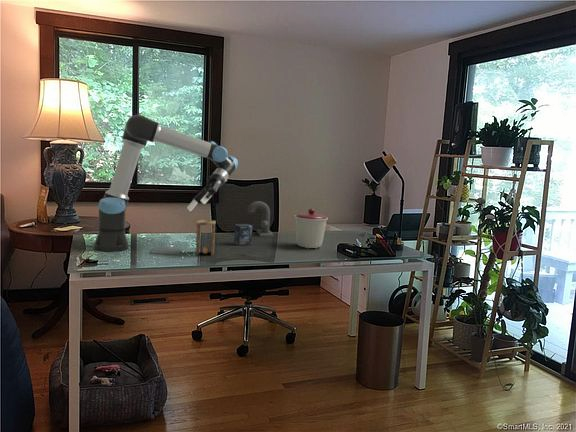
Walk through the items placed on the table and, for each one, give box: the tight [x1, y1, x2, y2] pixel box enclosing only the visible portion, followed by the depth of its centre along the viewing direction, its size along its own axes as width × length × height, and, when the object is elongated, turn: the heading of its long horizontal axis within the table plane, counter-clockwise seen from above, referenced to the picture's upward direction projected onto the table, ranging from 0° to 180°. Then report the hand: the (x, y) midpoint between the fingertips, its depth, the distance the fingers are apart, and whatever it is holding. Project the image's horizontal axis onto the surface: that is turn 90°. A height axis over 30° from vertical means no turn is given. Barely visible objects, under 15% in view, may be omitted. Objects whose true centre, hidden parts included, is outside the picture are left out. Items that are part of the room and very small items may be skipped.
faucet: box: [247, 200, 275, 238], centre depth 297 cm, size 18×16×20 cm
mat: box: [150, 246, 183, 256], centre depth 236 cm, size 13×13×1 cm
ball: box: [201, 246, 210, 255], centre depth 236 cm, size 4×4×4 cm
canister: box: [294, 207, 329, 249], centre depth 268 cm, size 18×18×21 cm
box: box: [233, 223, 253, 246], centre depth 264 cm, size 8×6×11 cm
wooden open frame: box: [195, 219, 217, 257], centre depth 235 cm, size 8×8×16 cm
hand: (195, 206), depth 241 cm, fingers open, 13 cm apart
